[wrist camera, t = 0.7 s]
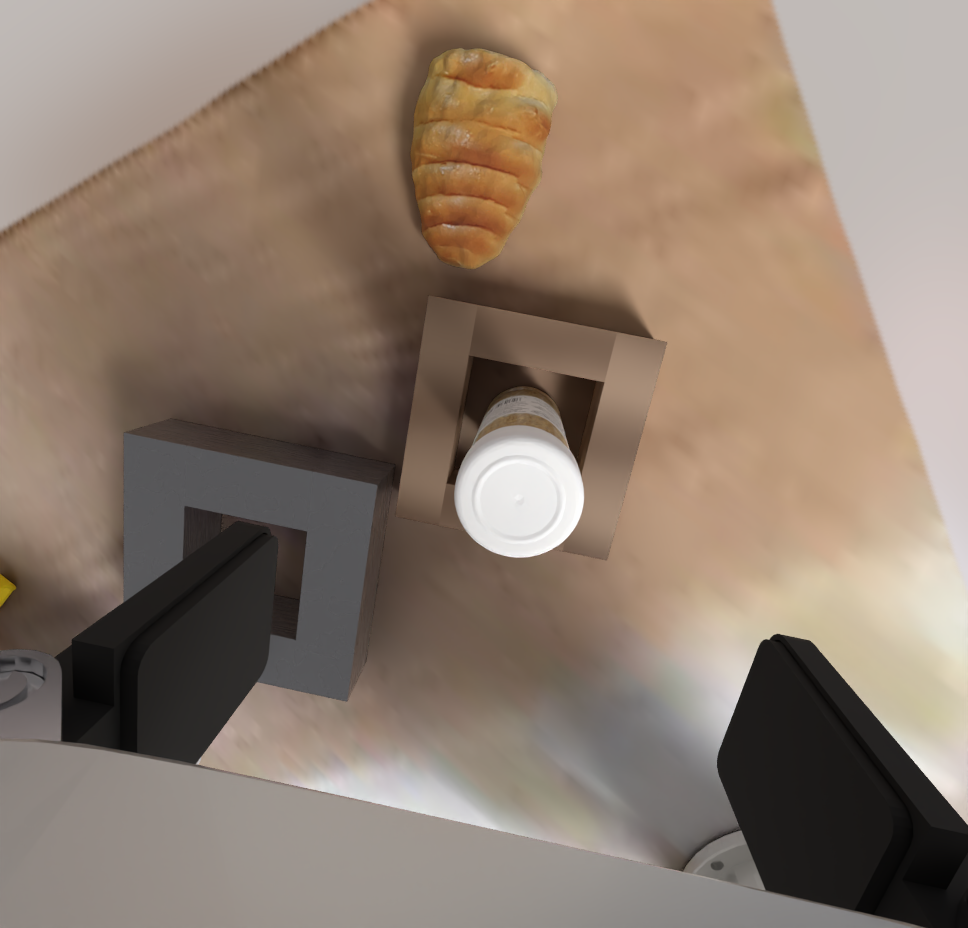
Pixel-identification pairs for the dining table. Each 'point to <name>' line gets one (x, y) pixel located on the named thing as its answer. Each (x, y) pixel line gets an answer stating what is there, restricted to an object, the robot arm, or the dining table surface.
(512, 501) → the sprinkles bottle
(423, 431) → the holder ring
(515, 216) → the pastry
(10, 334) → the dining table surface
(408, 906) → the robot arm
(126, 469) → the block
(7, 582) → the watch
